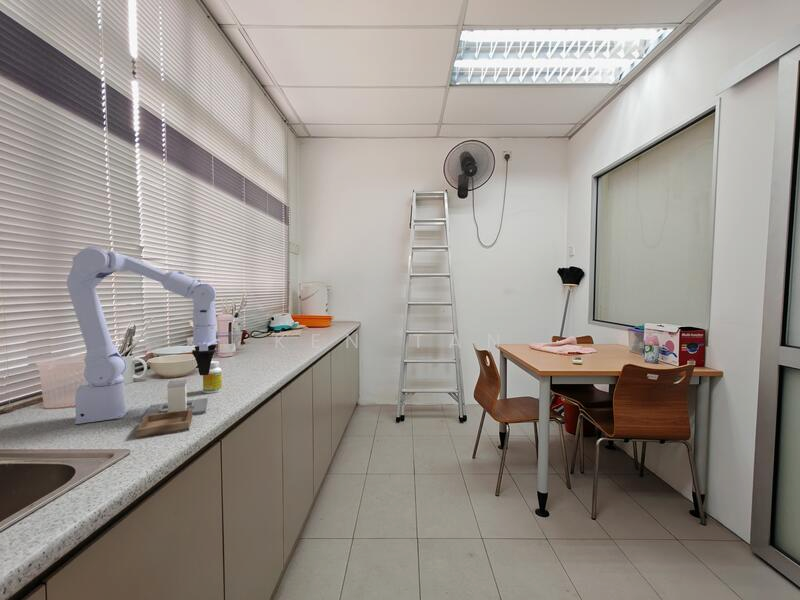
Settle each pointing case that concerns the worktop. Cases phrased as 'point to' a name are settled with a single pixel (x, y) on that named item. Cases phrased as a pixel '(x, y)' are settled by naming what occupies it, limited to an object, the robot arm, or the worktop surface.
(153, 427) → the tray
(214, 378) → the supplement bottle
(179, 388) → the block
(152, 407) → the frame
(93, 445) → the worktop surface
